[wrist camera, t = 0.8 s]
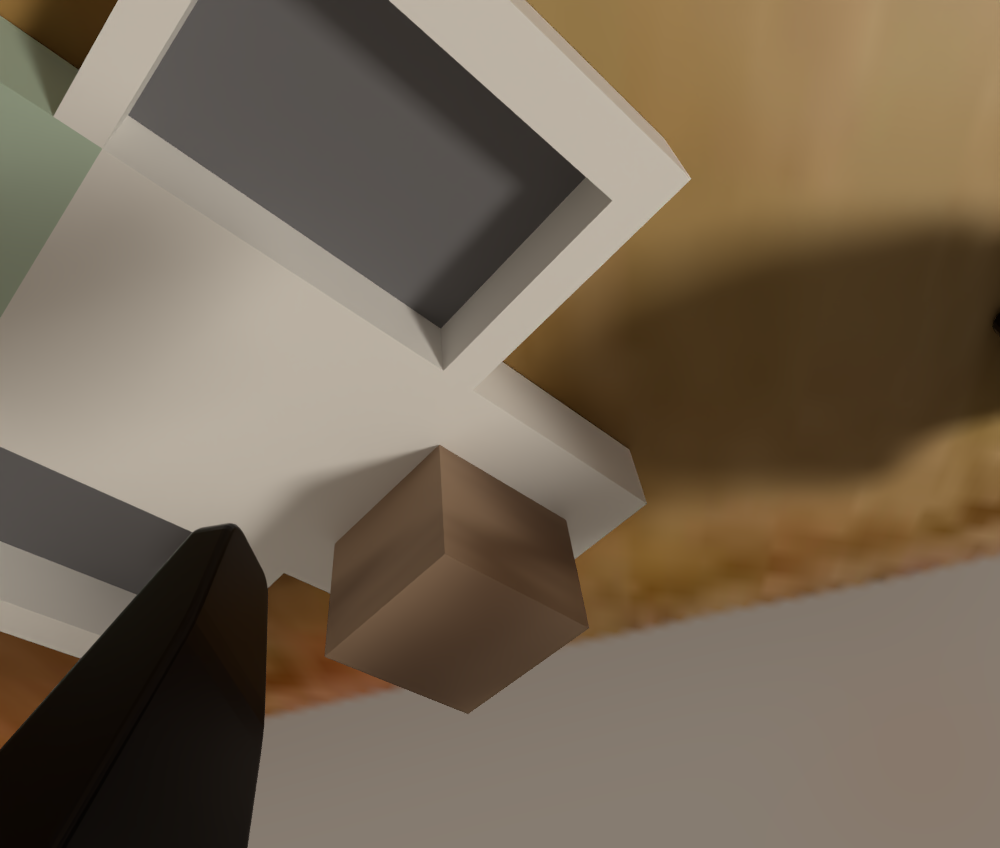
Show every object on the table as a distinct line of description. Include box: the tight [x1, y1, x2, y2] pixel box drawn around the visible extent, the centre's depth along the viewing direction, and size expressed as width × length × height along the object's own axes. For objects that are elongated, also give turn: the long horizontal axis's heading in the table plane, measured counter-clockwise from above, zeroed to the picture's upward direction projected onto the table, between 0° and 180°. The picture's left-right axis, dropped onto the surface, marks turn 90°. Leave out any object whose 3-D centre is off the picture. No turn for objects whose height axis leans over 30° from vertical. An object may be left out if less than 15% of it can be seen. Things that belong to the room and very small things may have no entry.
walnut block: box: [325, 445, 589, 714], centre depth 23 cm, size 5×5×4 cm
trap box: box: [0, 0, 691, 658], centre depth 22 cm, size 25×24×2 cm
